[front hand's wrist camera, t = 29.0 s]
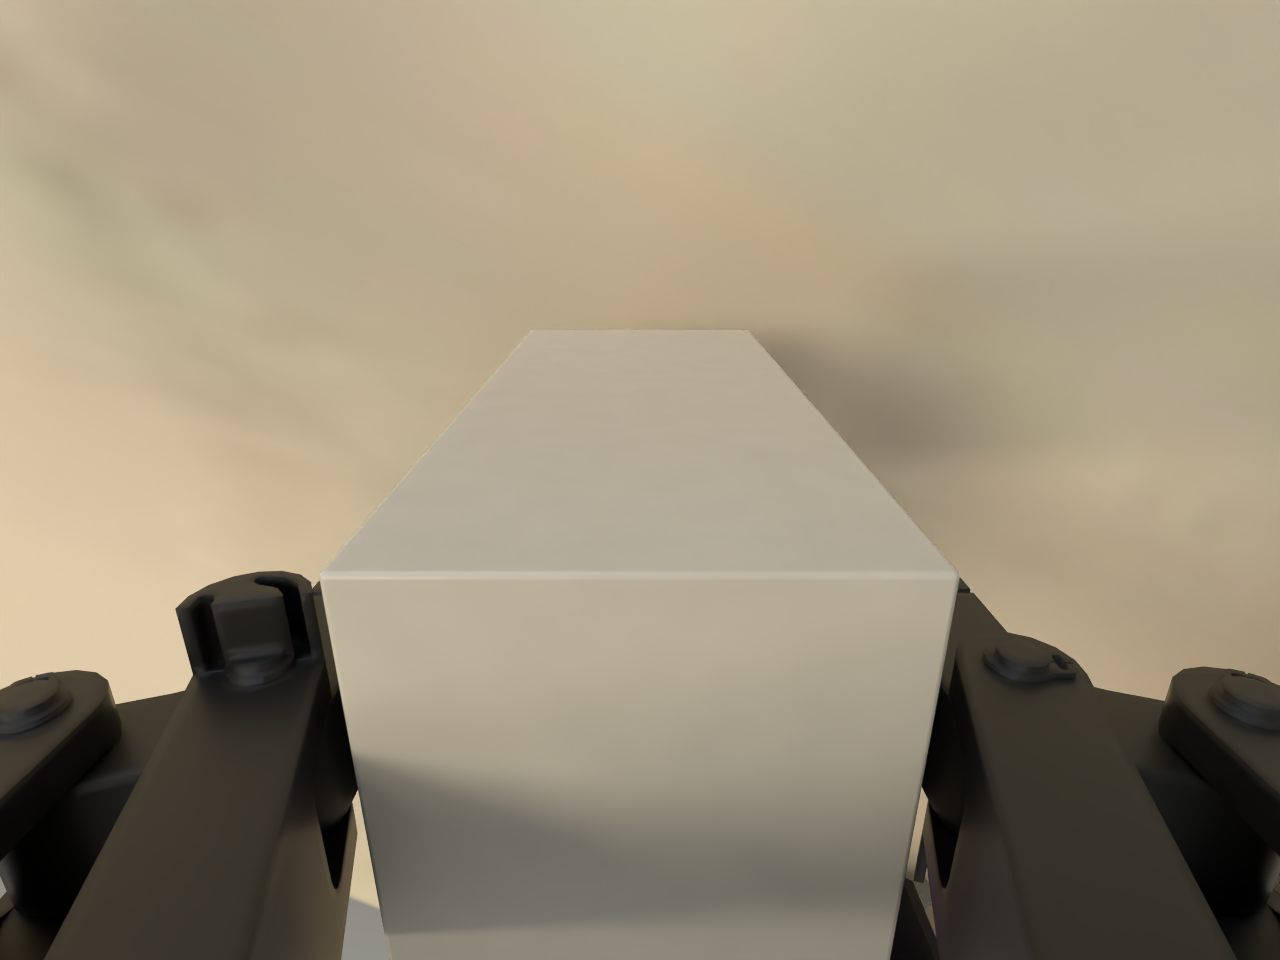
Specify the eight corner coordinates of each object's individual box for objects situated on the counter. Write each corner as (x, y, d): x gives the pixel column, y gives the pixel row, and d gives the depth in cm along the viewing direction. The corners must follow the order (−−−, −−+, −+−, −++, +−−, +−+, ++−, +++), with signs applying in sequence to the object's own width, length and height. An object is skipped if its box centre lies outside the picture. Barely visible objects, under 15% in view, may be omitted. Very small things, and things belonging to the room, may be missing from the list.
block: (736, 553, 19) (875, 1053, 8) (543, 553, 19) (404, 1053, 8) (748, 328, 16) (964, 572, 6) (530, 328, 16) (314, 572, 6)
